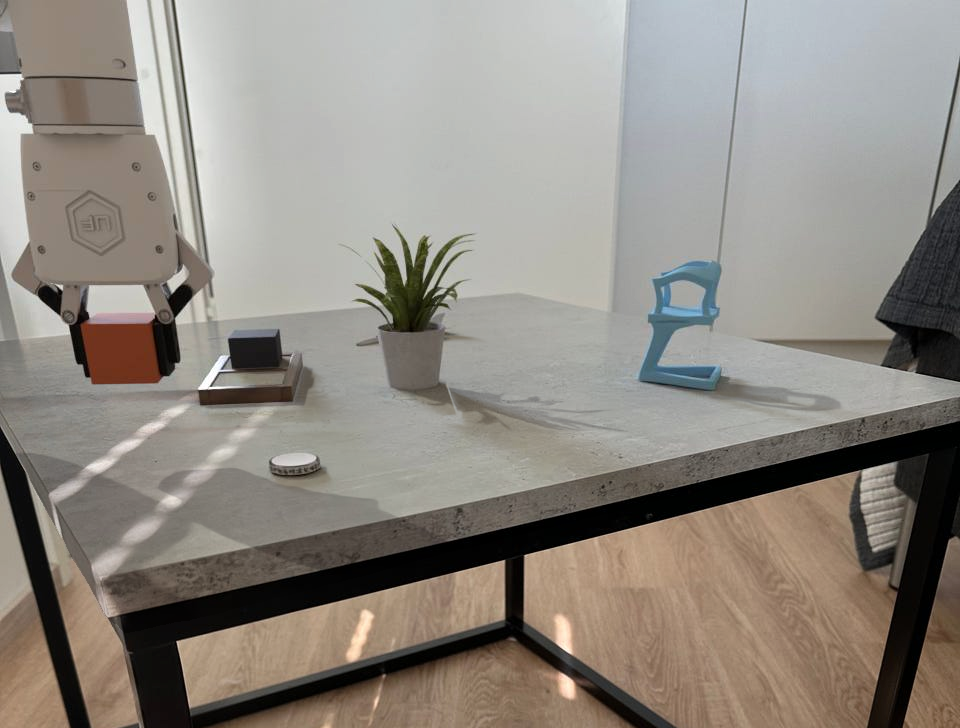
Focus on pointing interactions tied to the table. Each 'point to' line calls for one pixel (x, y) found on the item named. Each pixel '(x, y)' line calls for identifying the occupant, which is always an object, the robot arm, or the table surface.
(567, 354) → the table surface
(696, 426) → the table surface
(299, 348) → the table surface
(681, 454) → the table surface
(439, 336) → the house plant
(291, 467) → the white round disc
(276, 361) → the black block
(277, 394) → the frame
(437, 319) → the toy airplane
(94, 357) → the terracotta cube
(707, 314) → the chair
